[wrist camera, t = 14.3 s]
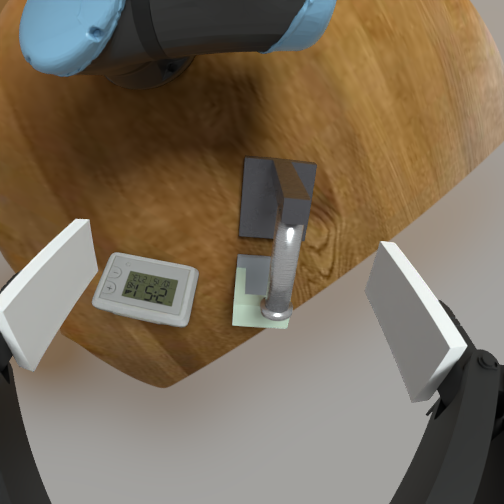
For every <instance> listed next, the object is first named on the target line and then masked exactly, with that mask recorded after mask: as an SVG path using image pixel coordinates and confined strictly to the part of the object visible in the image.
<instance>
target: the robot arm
mask: <svg viewBox="0 0 504 504" xmlns="http://www.w3.org/2000/svg"><path fill="white" fill-rule="evenodd" d="M336 1H337V0H27V3H26V5H25V7H24V10H23V13H22V17H21V22H20V29H19V40H20V47H21V50H22V53H23V56H24V58H25V59H26V61H27V62H29V63H30V65H32V66H33V68H34V69H36V70H37V71H40V72H42V73H46V74H54V75H58V76H60V77H63V76H66V77H68V76H72V75H104V76H105V77H106V78H107V79H108V80H109V81H111V82H112V83H114V84H116V85H118V86H120V87H123V88H127V89H151V88H156V87H159V86H162V85H164V84H166V83H168V82H170V81H172V80H173V79H175V78H176V77H177V76H179V75H180V74H181V73H182V72H183V71H184V70H185V69H186V68H187V67H188V66H189V64H190V63H191V62H192V60H193V58H194V56H195V55H202V54H213V53H228V52H255V51H257V52H259V53H261V54H267V53H271V52H273V51H300V50H303V49H306V48H308V47H311V46H312V45H314V44H315V43H316V42H317V41H318V40H319V39H320V38H321V36H322V35H323V33H324V32H325V30H326V28H327V26H328V24H329V22H330V19H331V17H332V14H333V11H334V8H335V4H336ZM97 272H98V267H97V262H96V257H95V252H94V246H93V240H92V234H91V228H90V221H89V219H75V220H74V221H73V222H72V223H71V224H70V225H69V226H67V227H66V228H65V229H64V230H63V231H62V232H61V233H60V234H59V235H58V236H56V237H55V238H54V239H53V240H52V241H51V242H50V243H49V244H48V245H47V246H46V247H45V248H44V249H43V250H42V251H41V252H40V253H39V254H38V255H37V256H36V257H35V258H34V259H33V260H32V261H31V262H30V263H29V264H28V265H27V266H26V267H25V268H24V269H23V270H21V271H20V272H18V273H16V274H15V275H14V276H13V277H12V278H11V279H10V280H9V281H8V282H7V284H6V285H4V286H3V288H2V289H1V291H0V504H51V501H50V499H49V497H48V495H47V492H46V490H45V487H44V485H43V482H42V480H41V477H40V474H39V472H38V469H37V466H36V463H35V460H34V457H33V454H32V451H31V448H30V445H29V442H28V438H27V435H26V431H25V427H24V424H23V420H22V415H21V411H20V407H19V402H18V397H17V393H16V387H15V382H14V376H13V369H12V367H11V364H10V363H9V360H10V359H11V357H12V356H13V357H14V358H15V360H16V362H17V364H18V365H19V366H20V367H22V368H25V369H28V370H31V371H33V372H34V370H35V368H36V367H37V365H38V363H39V361H40V360H41V358H42V356H43V355H44V353H45V351H46V349H47V348H48V346H49V344H50V343H51V341H52V339H53V338H54V336H55V334H56V333H57V331H58V330H59V328H60V327H61V325H62V323H63V322H64V320H65V319H66V317H67V316H68V314H69V313H70V311H71V309H72V308H73V306H74V305H75V303H76V302H77V300H78V299H79V297H80V296H81V295H82V293H83V292H84V290H85V289H86V287H87V286H88V284H89V283H90V282H91V280H92V279H93V277H94V276H95V275H96V273H97ZM365 293H366V295H367V297H368V300H369V302H370V304H371V306H372V308H373V310H374V313H375V315H376V317H377V319H378V321H379V324H380V326H381V328H382V330H383V332H384V335H385V337H386V339H387V342H388V344H389V346H390V349H391V351H392V354H393V356H394V358H395V361H396V363H397V366H398V368H399V371H400V373H401V376H402V378H403V381H404V383H405V386H406V388H407V391H408V394H409V396H410V399H411V402H412V403H414V402H420V401H426V400H429V399H430V398H431V397H432V395H433V394H434V392H435V391H436V390H438V392H439V394H440V398H439V399H438V400H437V401H436V403H435V404H434V405H433V406H432V407H431V408H430V410H429V411H428V412H427V414H426V415H427V416H428V415H429V414H430V413H431V412H432V415H431V417H430V420H429V423H428V425H427V428H426V430H425V433H424V435H423V437H422V440H421V442H420V445H419V447H418V449H417V451H416V453H415V456H414V458H413V460H412V462H411V464H410V466H409V468H408V470H407V472H406V474H405V476H404V478H403V480H402V482H401V484H400V486H399V487H398V489H397V491H396V493H395V495H394V497H393V498H392V500H391V502H390V503H389V504H504V365H499V363H498V361H497V359H496V358H495V357H494V356H493V355H492V354H491V353H489V352H488V351H485V350H477V349H476V348H475V346H474V344H473V343H472V341H471V340H470V338H469V336H468V335H467V333H466V332H465V330H464V329H463V327H462V326H460V323H459V321H458V320H457V319H455V315H454V314H453V312H452V311H451V310H450V308H449V307H448V306H446V305H445V304H444V303H443V302H442V301H440V300H437V299H436V297H435V296H434V294H433V293H432V291H431V290H430V289H429V287H428V286H427V285H426V283H425V282H424V281H423V279H422V278H421V277H420V275H419V274H418V272H417V271H416V270H415V268H414V267H413V266H412V264H411V263H410V262H409V261H408V259H407V258H406V257H405V255H404V254H403V253H402V251H401V250H400V249H399V248H398V247H397V245H396V244H395V243H393V242H384V241H380V243H379V247H378V250H377V254H376V257H375V261H374V263H373V267H372V270H371V273H370V276H369V280H368V282H367V286H366V288H365Z"/></svg>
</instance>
